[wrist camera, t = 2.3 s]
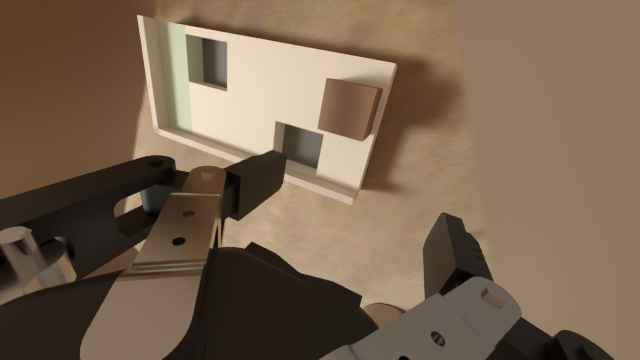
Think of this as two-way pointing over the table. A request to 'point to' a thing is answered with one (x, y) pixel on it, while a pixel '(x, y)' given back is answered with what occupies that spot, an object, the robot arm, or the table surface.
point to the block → (348, 108)
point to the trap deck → (258, 101)
